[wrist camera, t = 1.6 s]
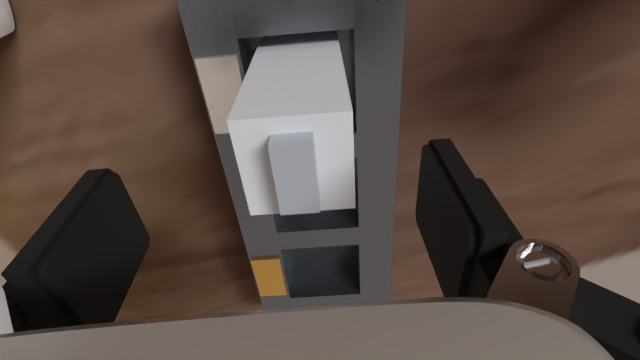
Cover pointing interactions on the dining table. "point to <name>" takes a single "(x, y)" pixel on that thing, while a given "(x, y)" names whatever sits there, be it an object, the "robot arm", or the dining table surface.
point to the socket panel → (369, 143)
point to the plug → (295, 127)
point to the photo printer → (6, 18)
